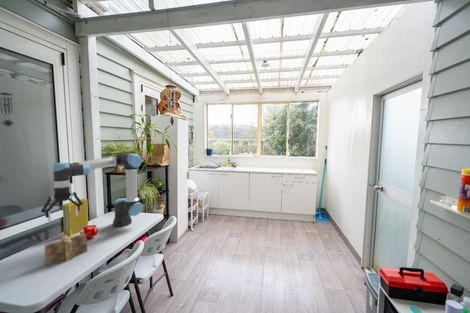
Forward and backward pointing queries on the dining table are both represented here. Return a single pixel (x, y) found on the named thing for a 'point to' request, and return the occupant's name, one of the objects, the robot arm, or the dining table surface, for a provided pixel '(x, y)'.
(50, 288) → the dining table surface
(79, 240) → the brown wooden board
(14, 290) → the dining table surface
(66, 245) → the tan wooden slab
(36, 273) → the dining table surface
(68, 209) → the book
